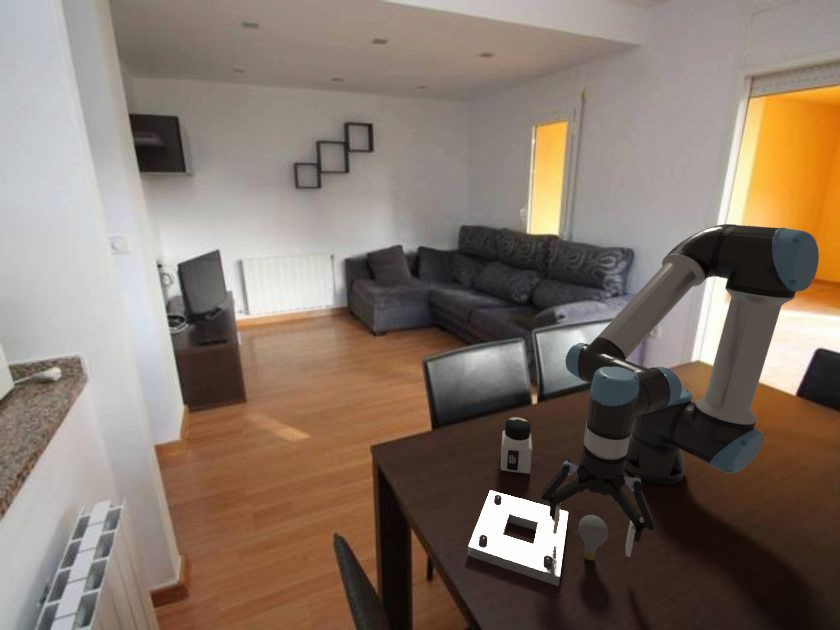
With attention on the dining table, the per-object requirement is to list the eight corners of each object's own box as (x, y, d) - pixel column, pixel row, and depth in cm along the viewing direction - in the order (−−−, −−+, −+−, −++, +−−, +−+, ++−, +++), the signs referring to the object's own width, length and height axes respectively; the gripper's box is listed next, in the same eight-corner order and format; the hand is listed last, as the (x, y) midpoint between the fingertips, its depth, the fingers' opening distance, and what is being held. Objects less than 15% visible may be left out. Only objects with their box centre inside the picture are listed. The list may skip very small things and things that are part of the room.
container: (530, 474, 112) (533, 431, 108) (500, 470, 114) (503, 428, 110) (529, 456, 119) (532, 415, 116) (501, 453, 121) (503, 413, 117)
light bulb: (570, 548, 89) (575, 509, 86) (595, 546, 90) (601, 507, 87) (581, 571, 84) (587, 530, 81) (608, 569, 85) (615, 528, 82)
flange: (567, 520, 97) (568, 509, 96) (558, 586, 81) (560, 573, 80) (489, 498, 104) (490, 487, 103) (467, 555, 88) (468, 543, 87)
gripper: (678, 453, 78) (658, 546, 84) (539, 424, 87) (530, 509, 93) (685, 478, 71) (662, 577, 78) (533, 443, 81) (524, 533, 87)
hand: (590, 540), depth 86 cm, fingers open, 13 cm apart
